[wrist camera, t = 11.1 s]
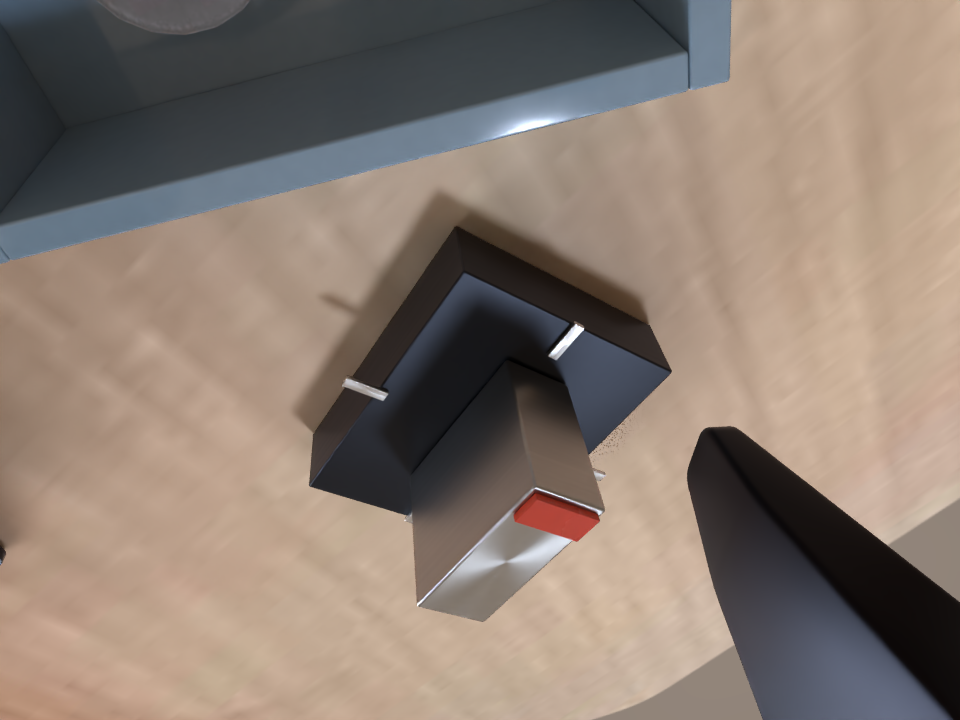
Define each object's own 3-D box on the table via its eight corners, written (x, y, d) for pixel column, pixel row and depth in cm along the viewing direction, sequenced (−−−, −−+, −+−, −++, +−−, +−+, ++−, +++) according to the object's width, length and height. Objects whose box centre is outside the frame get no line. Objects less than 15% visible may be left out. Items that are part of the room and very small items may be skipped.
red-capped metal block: (467, 495, 26) (484, 631, 22) (408, 476, 25) (416, 614, 21) (568, 384, 23) (609, 518, 19) (506, 358, 22) (536, 493, 18)
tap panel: (511, 502, 31) (521, 555, 28) (283, 426, 26) (275, 483, 24) (675, 334, 25) (701, 384, 23) (425, 205, 21) (431, 254, 19)
